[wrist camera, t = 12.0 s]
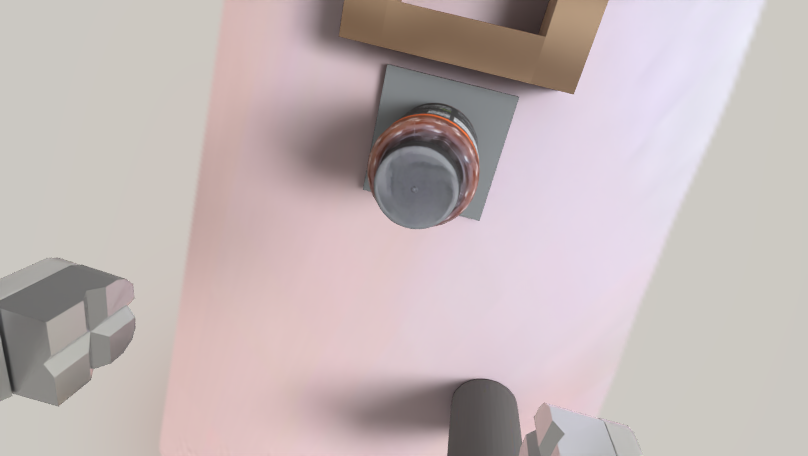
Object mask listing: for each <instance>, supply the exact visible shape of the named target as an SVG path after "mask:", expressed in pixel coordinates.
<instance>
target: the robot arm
mask: <svg viewBox="0 0 808 456" xmlns="http://www.w3.org/2000/svg"><path fill="white" fill-rule="evenodd" d="M133 299H134V289H133V284H132V283H131V282H130V281H128V280H127V279H125V278H121V277H118V276H115V275H112V274H109V273H106V272H103V271H100V270H97V269H93V268H90V267H87V266H84V265H79V264H76V263H73V262H70V261H67V260H64V259H60V258H46V259H44V260H41V261H39V262H37V263H35V264H32V265H30V266H28V267H26V268H24V269H21V270H19V271H17V272H14V273H12V274H10V275H8V276H6V277H3V278H1V279H0V401H1V400H4V399H6V398H9V397H11V396H12V393H13V394H17V395H20V396H24V397H27V398H31V399H34V400H38V401H41V402H45V403H48V404H52V405H55V406H59V405H60V404H62V403H63V402H64V401H65V400H67V399H68V398H69V397H70V396H72V395H73V394H74V393H75V392H77V391H78V390H79V389H80V388H81V387H83V386H84V385H85V384H86V383H88V382H89V381H90V380H91V378H92V373H93V369H95V368H98V367H101V366H104V365H107V364H110V363H112V362H113V361H114V360H115V359H117V358H118V357H119V356H120V355H121V354H122V353H123V352H124V351H125V349H126V348H127V346H128V345H129V343H130V342H131V340H132V338H133V334H134V331H135V316H134V315H133V313H132V312H131V310H130V309H129V307H128V305H129V304H130V303H131V302H132V300H133ZM534 420H535V427H536V430H535V431H533V432H531V433H529V434H527V435H526V436H525V438H524V440H523V443H522V445H521V447H520V452H519V456H644V454H643V452H642V450H641V448H640V445H639V443H638V441H637V438H636V436H635V434H634V432H633V431H632V430H631V428H629V426H628V425H624V424H620V423H617V422H613V421H609V420H605V419H602V418H596V417H592V416H589V415H586V414H582V413H579V412H575V411H572V410H568V409H565V408H561V407H558V406H554V405H551V404H547V403H543V404H542V405H541V406H540V407H539V409H538V411H537V413H536V415H535V417H534Z"/></svg>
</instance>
